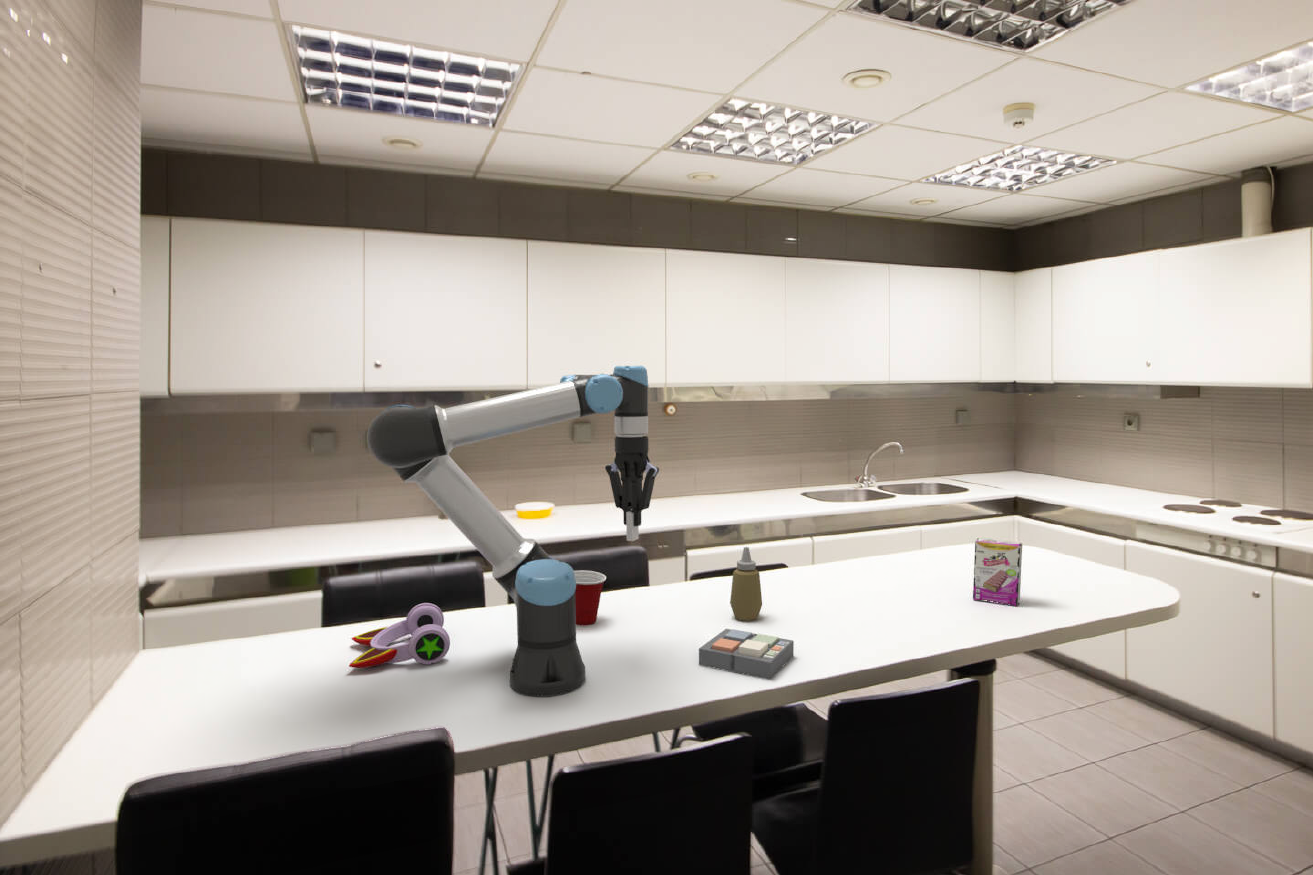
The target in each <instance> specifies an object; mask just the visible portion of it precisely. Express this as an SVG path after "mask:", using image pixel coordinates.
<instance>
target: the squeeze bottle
mask: <svg viewBox="0 0 1313 875" xmlns="http://www.w3.org/2000/svg"><path fill="white" fill-rule="evenodd" d="M756 565H757V563H756V561H754V560H752V557H751V553H750V548H749V547H747V546H744V547H743V551H742V554H741V560H740V559H739V560H738V561H736V569H735V570H733V572H732V579H731V580H732V582H731V590H730V591H731V592H730V603H729V604H730V607H731V611H732V613H733V616H734V618H735V619H736V620H739V621H743V622H744V621H747V622H748V621H755V620H757V619H758V618H759V616H760V612H761V609H762V607H763V597H762V588H761V577H760V571H759V570H758V569H756Z"/></svg>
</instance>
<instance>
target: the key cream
mask: <svg viewBox="0 0 1313 875" xmlns="http://www.w3.org/2000/svg"><path fill="white" fill-rule="evenodd" d="M767 652H768V643H764V642H759V641H753V640H748V639H747V640H746V641H745V642H744V643H742V644H741V645H740V646H739V654H741V655H746V656H752V657H757V658H761V657H762V656H763V655H765V654H766V653H767Z"/></svg>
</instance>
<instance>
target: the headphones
mask: <svg viewBox="0 0 1313 875" xmlns="http://www.w3.org/2000/svg"><path fill="white" fill-rule="evenodd" d="M444 623H445V616H444V614H443V612H442V610H441V608H440V607H439V606H438V605H436V604H433V603H429V602H423V603H419V604H417V605H414V607H412V608H411V610H410V611H409V612H408V613H407V615H406V618H405V619H403V620H401V621H398V622H396V623H393V624H391V625H389V626H385V627H384V626H383V627H380V628H376V629H372V630H369V631H366V632H364V633H360V634H358V635H355V636H353V637H351V640H352V641H353V642H354V643H357V644H359V645H362V646H365V647H366V646H367V647H371V649H368V650H367V651H365V652H363V653H362V654H361V655H359V656H357V657H356V658H355V659H353V661H352V662H350V663H349V664H348V667H349V668H353V669H354V668H357V669H364V668H371V667H377V666H382V665H383V664H396V663H401V662H406V661H411V660H412V659H413V660H414V661H415V662H416V663H417V662H418V663H420V664H422V663H423V665H432V664H431V663H434V664H436V663H438V662H440V661H441V660H443V659H444V658H445V657H446V655H447V654H448V652H449V651H450V646H451V638H450V636H449V633H448V632H447V629H445V628H444V627H443V626H444ZM409 635H411V636H410V638H409V640H408V642H406V643H402V644H399V645H391V646H388V645H390V644H391V643H393V642H395V641H397V640H399V639H401V638H403V637H406V636H409Z"/></svg>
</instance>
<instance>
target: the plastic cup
mask: <svg viewBox="0 0 1313 875" xmlns="http://www.w3.org/2000/svg"><path fill="white" fill-rule="evenodd" d="M574 574H575V580H576V589H575V599H576V626H584V627H585V626H591V625H594V624H595V623H596V622H597V619H598V611H599V607H600V600H601V595H602V590H603V586H604V584H605V581H606V579H607V576H606V575H605V574H603V573H601V572H597V571H593V570H583V569H582V570H574Z"/></svg>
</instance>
